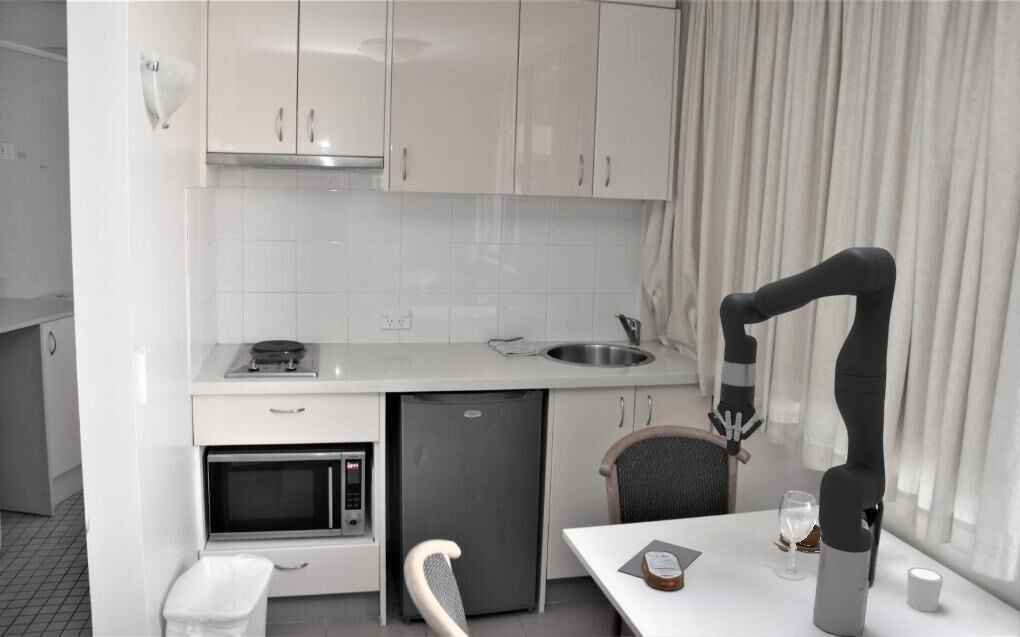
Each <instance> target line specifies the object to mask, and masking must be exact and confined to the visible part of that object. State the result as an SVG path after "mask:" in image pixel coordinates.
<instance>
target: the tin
mask: <svg viewBox="0 0 1020 637" xmlns="http://www.w3.org/2000/svg"><path fill="white" fill-rule="evenodd" d="M642 568H643V572H644V576H645V579H644V580H645V583H647V584H648V585H649V586H650V587H653V588H655V589H660V590H666V591H667V590H668V591H670V590H671V591H673V590H674V591H675V590H678V589H680V588H683V586H684V584H685V581H684V580H685V573H684V572H685V571H683V569H682V566H681V563H680V561H679V558H678V556H676V555H675V554H673V553H671V552H668V551H653V550H651V551H647V552H646V553H644V555H643V562H642Z"/></svg>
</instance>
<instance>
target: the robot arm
mask: <svg viewBox="0 0 1020 637" xmlns="http://www.w3.org/2000/svg"><path fill="white" fill-rule="evenodd" d="M896 284H897V265H896V261H895V258H894V256H893V255H892V254H891V252H889V251H888V250H887V249H885V248H883V247H875V246H873V247H871V246H869V247H868V246H864V247H863V246H862V247H861V246H859V247H857V246H856V247H853V246H852V247H849V248H846V249H843V250H841V251H839V252H837V253H835V254H834V255H831V256H830V257H828V258H827V259H824V261H822V262H820V263H818V264H816V265H814V266H812V267H811V268H809V269H806V270H804V271H801V272H799V273H796V274H793V275H791V276H790V275H789V276H788V277H787V276H786V277H784V278H781V279H778V280H775V281H772V282H770V283H767V284H763V285H762V286H760V287H759V288H758V289H757V290H756V291H754V292H739V293H738V292H737V293H736V292H734V293H729V294H727V295H726V296H724V298H723V299H722V301H721V303H720V307H719V318H720V324H721V329H722V333H723V339H724V352H723V363H722V364H723V365H722V367H721V374H720V379H721V380H720V392H719V402H718V404H717V407H716V409H714V410H710V411H709V412H707V418H708V419H709V420H710V422H711V424H712V425H713V426H714V428H715V430H716V431H717V432H718V435H719V436H721V437H722V436H723V437H724V438H726V453H727V454H728V456H730V457H734V458H735V457H737V456H738V455H739V454H740V453H741V449H742V447H741V446H742V441H743V440H748V439H749V438H750V437H751V436H752V435H753V434H754V433H755V432H756V431H757V430H758V429H759V428H760V427H762V425H763V424H764V423H765V419H764V418H761V417H760V416H758V415H757V414H756V412H757V411H756V408H755V396H756V385H757V384H756V383H757V355H758V354H757V353H758V340H757V339H756V337H754V336H752V335H749V334H747V333H746V328H745V325H755V324H760V323H763V322H766V321H768V320H770V319H772V318H773V317H776V316H779V315H783V314H786V313H790V312H793V311H796V310H798V309H801V308H803V307H804V306H806V305H808V304H809V303H811V302H813V301H815V300H818V299H822V298H827V297H834V296H835V297H836V296H854V297H856V299H855V300H856V301H855V311H854V312H855V313H854V319H853V322H852V324H851V325H852V326H851V327H850V330H849V332H848V334H847V335H846V338H845V340H844V342H843V344H842V346H841V348H840V349H839V353H838V354H837V357H836V360H835V361H836V362H835V366H834V367H835V368H834V386H833V388H834V389H833V390H834V392H833V394H834V399H835V403H836V406H837V409H838V411H839V413H840V416H841V418H842V421H843V423H844V425H845V429H846V433H847V454H846V462H845V463H844V464H838V465H835V466H832V467H830V468H828V469H827V470H826V471H825V472H824V474H823V476H822V477H821V482H820V484H819V485H820V486H819V497H818V498H819V499H818V526H819V527H820V529H821V541H820V546H819V548H820V553H818V554H819V555H818V566H817V576H816V585H815V587H816V588H815V595H814V596H815V597H814V606H813V616H812V620H813V623H814V624H815V626H816V627H818V628H820V630H822V631H825V632H828V633H829V634H834V635H838V636H844V637H860V636H861V633H862V631H863V629H864V627H865V625H866V614H867V608H868V606H867V605H868V598H869V597H868V595H869V588H870V587H869V586H870V580H868V579H869V571H870V570H869V569H870V560H871V551H872V542H873V534H872V533H871V531H870V530H869V529H868V528H866V527H865V526H863V524H862V523H863V511H864V510H869V509H871V508H873V507H875V506H877V505H878V504H880V503H881V502H882V500H883V498H884V497H885V492H886V483H887V482H886V469H885V468H886V466H885V465H886V464H885V450H884V431H885V430H884V429H885V406H886V405H885V403H886V395H887V394H886V393H887V392H886V390H887V377H888V376H887V373H888V372H887V369H888V368H887V367H888V364H887V362H888V348H889V334H890V333H889V332H890V331H889V330H890V321H891V313H892V307H893V301H894V294H895V290H896ZM721 418H722V420H723V421H724V423H725V424H724V423H723V422H722V420H721ZM751 419H752V421H751V426H750V427H749V428H748V429H747V430H746V431H745V432H744V429H745V425H747V424H748V423H749V421H750V420H751Z"/></svg>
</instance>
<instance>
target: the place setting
mask: <svg viewBox="0 0 1020 637" xmlns="http://www.w3.org/2000/svg"><path fill="white" fill-rule="evenodd" d="M814 524H815V525H814V527H813V530H812V531H811V532H810V534H809V535H808V536H807V538H805V539H804V540H802V541H801V542H799V543H801V544H802V545H797V550H796V551H798V550H799V552H802V551H808V552H807V553H809V552H815V551H820V547H818V548H816V547H815V548H814V547H812V548H811V547H807V546H803V545H804V544H805V545H812V544H813V545H815V544H817V543H819V541H820V537H821V529H820V526H819V524H816V523H814ZM779 538H780V541H781V542H782V543H783V544H784V545H785V546H783V545H780V544H779V543H777V542H775V544H774V545H776V546H778V549H779V550H781V551H783V552H788V551H789V548H790V547H789V546H790V542H789V541H787V540H786V539H785V538H784V537H783V536H782V534H781V533H780V535H779ZM783 538H784V539H783ZM813 545H812V546H813Z"/></svg>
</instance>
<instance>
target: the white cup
mask: <svg viewBox="0 0 1020 637" xmlns="http://www.w3.org/2000/svg"><path fill="white" fill-rule="evenodd" d="M943 582H944V576H943V575H942V574H941V573H939V572H937V571H935V570H932V569H929V568H925V567H917V566H916V567H915V566H914V567H910V568H908V569H907V582H906V583H907V589H906V590H907V592H906V593H907V595H906V596H907V599H906V600H907V601H906V602H907V604H908V605H909V607H911V608H913V609H915V610H918V611H922V612H927V613H928V612H935V611H936V610H937V609H938V603H939V599H940V595H941V591H942V586H943Z"/></svg>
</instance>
